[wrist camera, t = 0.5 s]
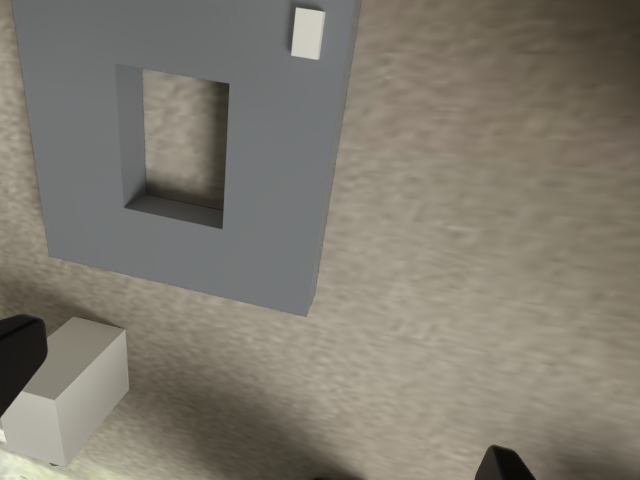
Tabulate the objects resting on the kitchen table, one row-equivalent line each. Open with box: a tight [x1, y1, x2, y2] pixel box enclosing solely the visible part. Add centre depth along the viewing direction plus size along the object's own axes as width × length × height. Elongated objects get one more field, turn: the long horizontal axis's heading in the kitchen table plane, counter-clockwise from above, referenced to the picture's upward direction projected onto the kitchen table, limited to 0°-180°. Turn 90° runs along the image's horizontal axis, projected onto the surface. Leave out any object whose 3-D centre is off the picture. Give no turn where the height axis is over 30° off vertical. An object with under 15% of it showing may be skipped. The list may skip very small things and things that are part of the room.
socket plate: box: [11, 0, 362, 317], centre depth 20 cm, size 14×14×2 cm
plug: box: [1, 316, 129, 467], centre depth 26 cm, size 7×4×6 cm, turn 172°
